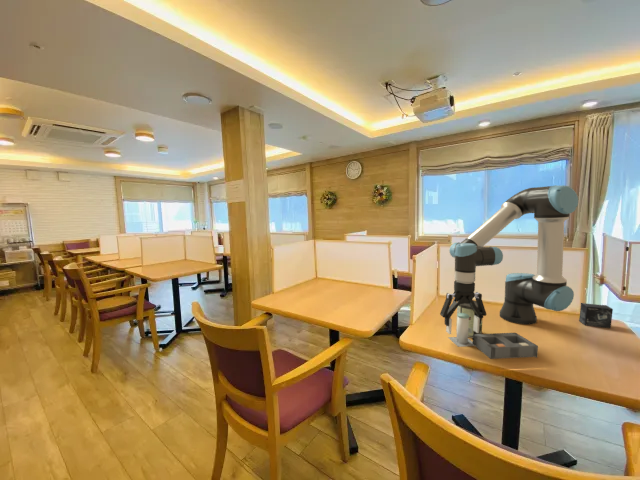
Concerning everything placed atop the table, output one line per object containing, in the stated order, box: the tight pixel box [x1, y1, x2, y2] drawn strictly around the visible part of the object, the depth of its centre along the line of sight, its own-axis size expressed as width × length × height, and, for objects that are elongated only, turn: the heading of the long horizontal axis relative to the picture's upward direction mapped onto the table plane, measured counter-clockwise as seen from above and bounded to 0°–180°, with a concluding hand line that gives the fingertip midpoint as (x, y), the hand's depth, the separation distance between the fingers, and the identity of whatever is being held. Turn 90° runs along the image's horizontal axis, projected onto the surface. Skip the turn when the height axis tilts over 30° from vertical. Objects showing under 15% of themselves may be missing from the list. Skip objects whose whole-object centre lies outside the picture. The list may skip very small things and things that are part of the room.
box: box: [578, 302, 614, 329], centre depth 126 cm, size 9×6×10 cm, turn 68°
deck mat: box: [447, 336, 475, 348], centre depth 113 cm, size 8×8×1 cm
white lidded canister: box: [456, 313, 469, 344], centre depth 112 cm, size 4×4×12 cm
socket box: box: [472, 332, 539, 360], centre depth 105 cm, size 18×11×5 cm, turn 93°
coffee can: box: [455, 299, 483, 339], centre depth 120 cm, size 10×10×14 cm
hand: (462, 332), depth 113 cm, fingers open, 11 cm apart
